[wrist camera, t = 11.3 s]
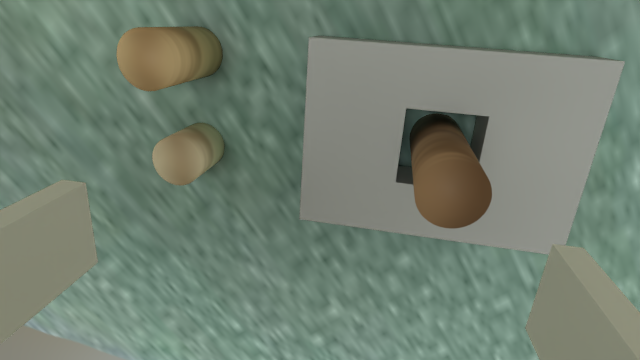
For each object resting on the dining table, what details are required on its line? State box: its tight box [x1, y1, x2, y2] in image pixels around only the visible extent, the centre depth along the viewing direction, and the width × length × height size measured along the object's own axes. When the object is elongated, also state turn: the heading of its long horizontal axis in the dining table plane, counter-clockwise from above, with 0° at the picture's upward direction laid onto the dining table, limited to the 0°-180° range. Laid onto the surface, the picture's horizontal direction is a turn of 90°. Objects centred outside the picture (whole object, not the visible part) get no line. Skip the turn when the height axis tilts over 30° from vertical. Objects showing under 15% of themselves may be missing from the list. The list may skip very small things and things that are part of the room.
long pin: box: [410, 114, 492, 229], centre depth 28 cm, size 4×4×12 cm
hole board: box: [300, 36, 625, 254], centre depth 31 cm, size 20×14×4 cm
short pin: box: [152, 123, 225, 185], centre depth 35 cm, size 4×4×5 cm
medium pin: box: [117, 27, 222, 91], centre depth 30 cm, size 4×4×8 cm
